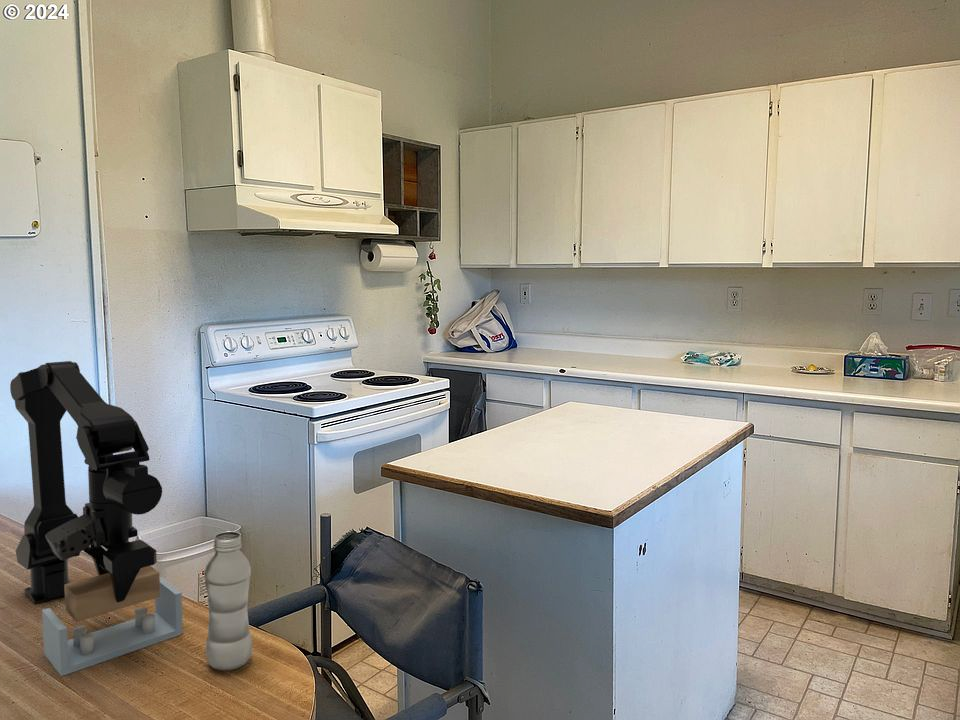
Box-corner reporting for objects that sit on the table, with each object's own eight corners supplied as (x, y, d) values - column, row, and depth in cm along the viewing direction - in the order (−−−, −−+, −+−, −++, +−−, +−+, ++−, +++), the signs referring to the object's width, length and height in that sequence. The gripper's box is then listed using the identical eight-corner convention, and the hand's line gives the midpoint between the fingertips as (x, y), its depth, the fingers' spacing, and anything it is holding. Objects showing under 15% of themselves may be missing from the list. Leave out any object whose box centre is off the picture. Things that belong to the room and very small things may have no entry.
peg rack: (43, 653, 108) (41, 609, 107) (161, 615, 121) (160, 576, 120) (61, 676, 103) (59, 630, 102) (182, 634, 115) (181, 592, 114)
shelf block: (65, 609, 108) (64, 584, 108) (147, 586, 117) (146, 562, 116) (76, 622, 105) (75, 596, 104) (159, 596, 113) (159, 572, 113)
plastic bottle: (238, 679, 103) (237, 546, 101) (195, 672, 105) (193, 541, 102) (260, 656, 110) (260, 530, 107) (220, 649, 111) (219, 525, 108)
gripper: (31, 492, 109) (36, 590, 111) (72, 527, 96) (76, 636, 98) (109, 478, 117) (112, 569, 119) (157, 509, 104) (159, 610, 106)
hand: (113, 595), depth 111 cm, fingers closed on shelf block, 5 cm apart
